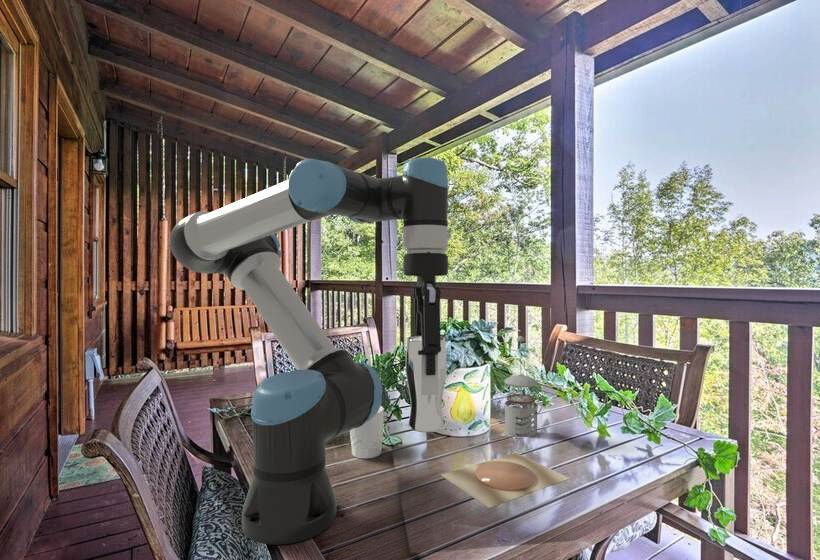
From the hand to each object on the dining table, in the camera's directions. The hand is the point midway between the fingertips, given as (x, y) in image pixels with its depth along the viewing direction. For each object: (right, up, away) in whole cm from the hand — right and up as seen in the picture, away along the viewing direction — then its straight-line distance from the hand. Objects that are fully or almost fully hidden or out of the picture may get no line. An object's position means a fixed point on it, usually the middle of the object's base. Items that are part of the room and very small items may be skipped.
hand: (425, 388), depth 74 cm
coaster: (+15, -19, +9) cm, 26 cm away
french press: (+26, -21, +34) cm, 48 cm away
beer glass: (0, -7, 0) cm, 7 cm away
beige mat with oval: (+15, -21, +9) cm, 27 cm away
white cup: (-13, -21, +25) cm, 35 cm away
